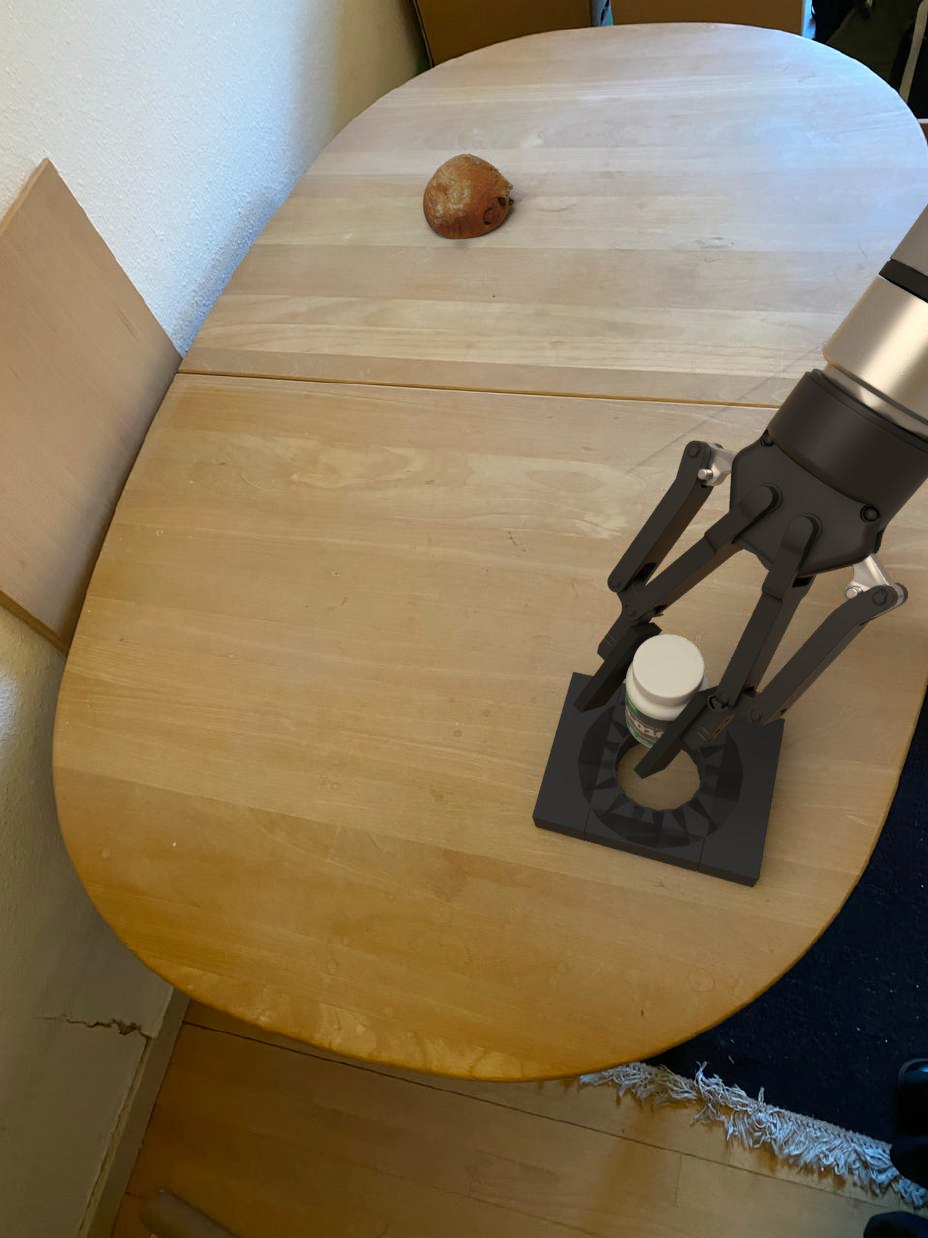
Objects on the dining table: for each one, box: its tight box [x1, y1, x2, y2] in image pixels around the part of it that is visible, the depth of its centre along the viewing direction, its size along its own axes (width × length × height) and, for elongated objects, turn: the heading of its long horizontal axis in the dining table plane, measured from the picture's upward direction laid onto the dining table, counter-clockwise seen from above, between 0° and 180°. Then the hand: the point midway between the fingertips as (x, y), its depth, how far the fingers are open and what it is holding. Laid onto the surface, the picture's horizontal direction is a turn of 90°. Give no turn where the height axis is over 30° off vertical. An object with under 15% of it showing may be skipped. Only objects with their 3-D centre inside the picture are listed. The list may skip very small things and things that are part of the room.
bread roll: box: [422, 153, 515, 240], centre depth 97 cm, size 10×10×8 cm
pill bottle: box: [625, 633, 709, 749], centre depth 51 cm, size 5×5×8 cm
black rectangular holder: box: [531, 671, 786, 888], centre depth 62 cm, size 16×12×3 cm
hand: (619, 735), depth 51 cm, fingers closed on pill bottle, 5 cm apart
